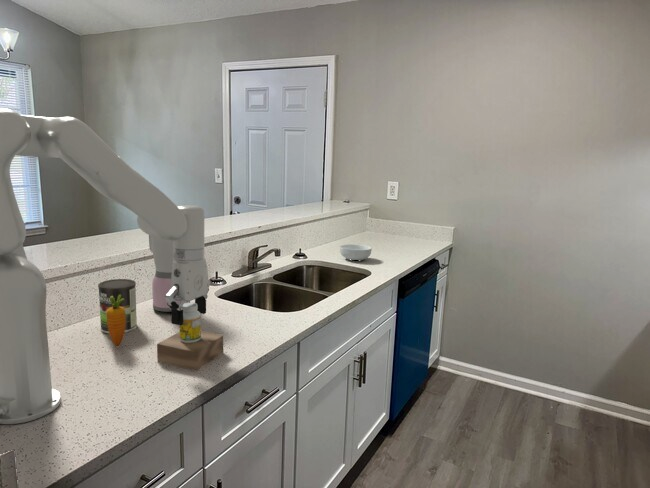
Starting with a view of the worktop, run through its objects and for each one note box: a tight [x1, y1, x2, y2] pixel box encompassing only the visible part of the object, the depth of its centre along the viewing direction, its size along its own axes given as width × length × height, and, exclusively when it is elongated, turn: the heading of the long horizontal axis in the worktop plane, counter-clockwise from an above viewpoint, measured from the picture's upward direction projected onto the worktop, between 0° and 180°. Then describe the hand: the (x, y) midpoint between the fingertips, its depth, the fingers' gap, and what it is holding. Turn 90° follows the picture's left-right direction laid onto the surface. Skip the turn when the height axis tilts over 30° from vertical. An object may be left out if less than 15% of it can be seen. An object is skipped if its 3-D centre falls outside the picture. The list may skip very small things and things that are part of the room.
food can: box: [97, 278, 138, 335], centre depth 137 cm, size 10×10×14 cm
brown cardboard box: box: [156, 330, 224, 372], centre depth 120 cm, size 12×12×5 cm
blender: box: [148, 235, 191, 313], centre depth 154 cm, size 16×12×32 cm
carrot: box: [106, 295, 126, 348], centre depth 123 cm, size 5×5×15 cm
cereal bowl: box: [339, 243, 372, 261], centre depth 243 cm, size 17×17×7 cm
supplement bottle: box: [178, 302, 202, 343], centre depth 118 cm, size 5×5×10 cm
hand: (189, 318), depth 118 cm, fingers open, 9 cm apart
